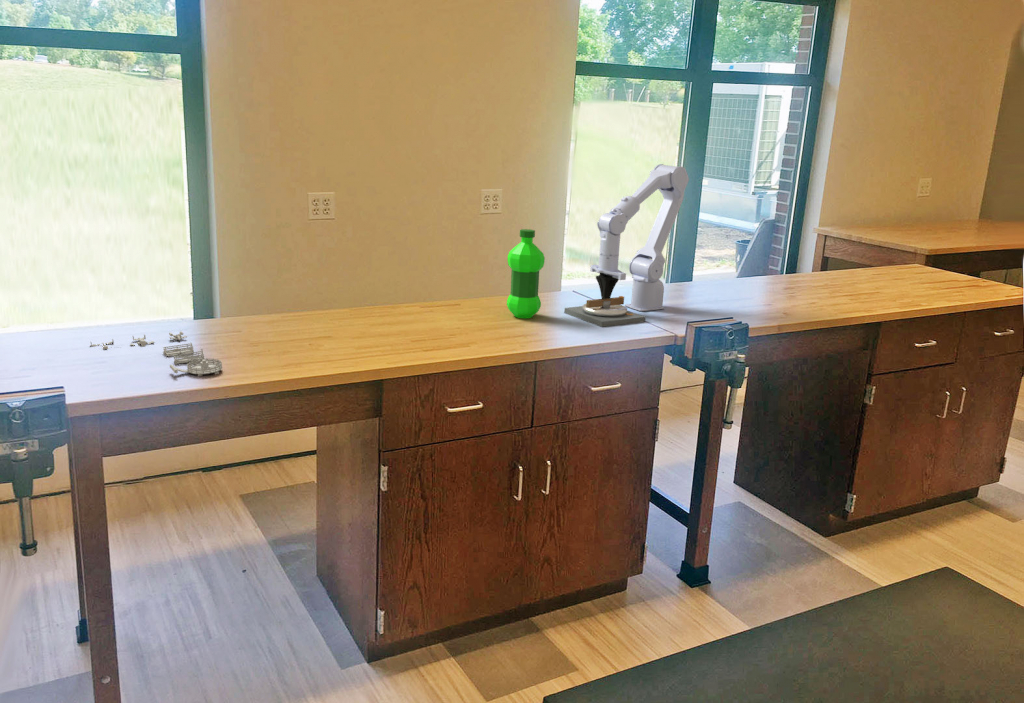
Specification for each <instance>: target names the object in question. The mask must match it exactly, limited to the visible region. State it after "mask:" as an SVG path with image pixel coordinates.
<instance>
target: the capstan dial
mask: <svg viewBox="0 0 1024 703" xmlns="http://www.w3.org/2000/svg"><path fill="white" fill-rule="evenodd" d="M624 303H625V296H623V295H618V297H610V298H605V299H602V298H597V299H588V300H586V303H584V304H583V305H582V306H583V311H584V312H585V313H588V314H591V315H597V316H607V317H615V316H623V315H626V314H627V311H628V307H627V306H625V305H624Z"/></svg>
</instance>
